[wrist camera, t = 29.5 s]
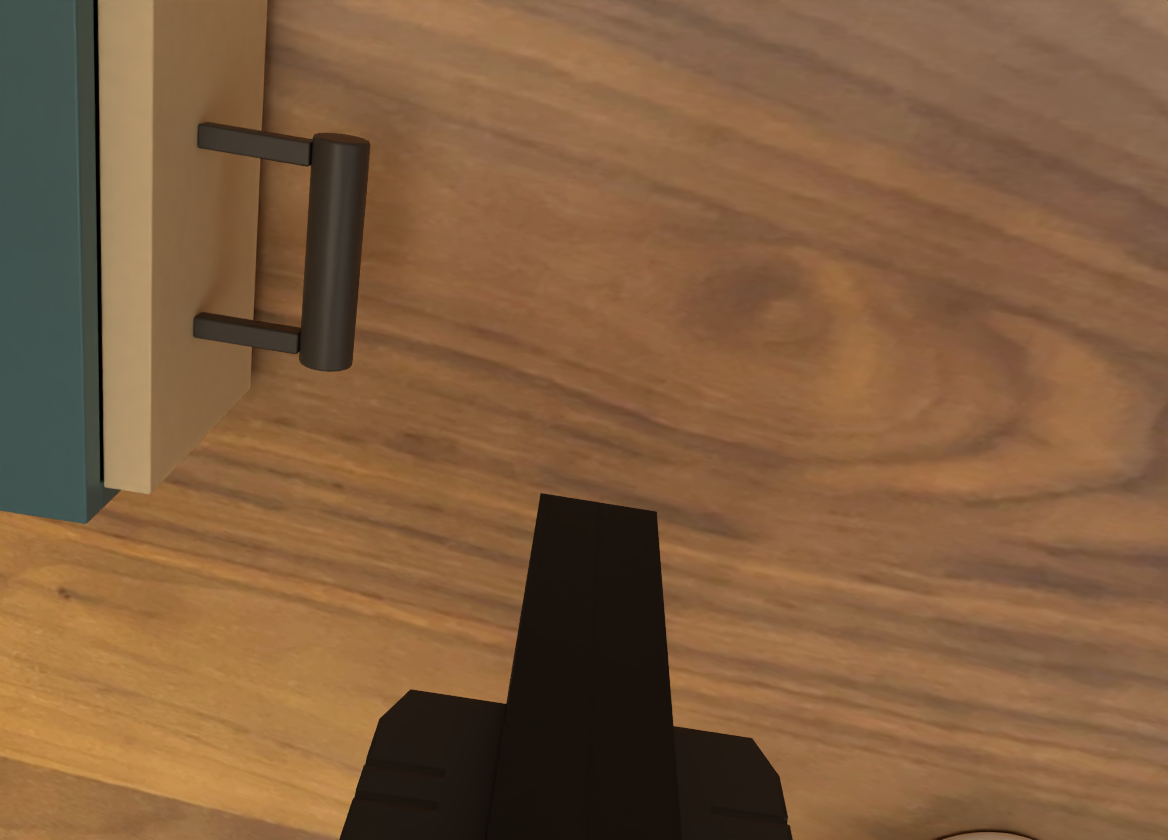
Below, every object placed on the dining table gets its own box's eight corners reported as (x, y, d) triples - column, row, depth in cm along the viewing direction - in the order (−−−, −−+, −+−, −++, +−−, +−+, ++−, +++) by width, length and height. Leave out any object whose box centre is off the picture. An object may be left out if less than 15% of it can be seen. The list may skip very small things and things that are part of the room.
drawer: (417, 5, 29) (352, 6, 22) (379, 410, 34) (314, 521, 26) (-220, -106, 29) (-503, -143, 21) (-170, 321, 33) (-389, 410, 26)
